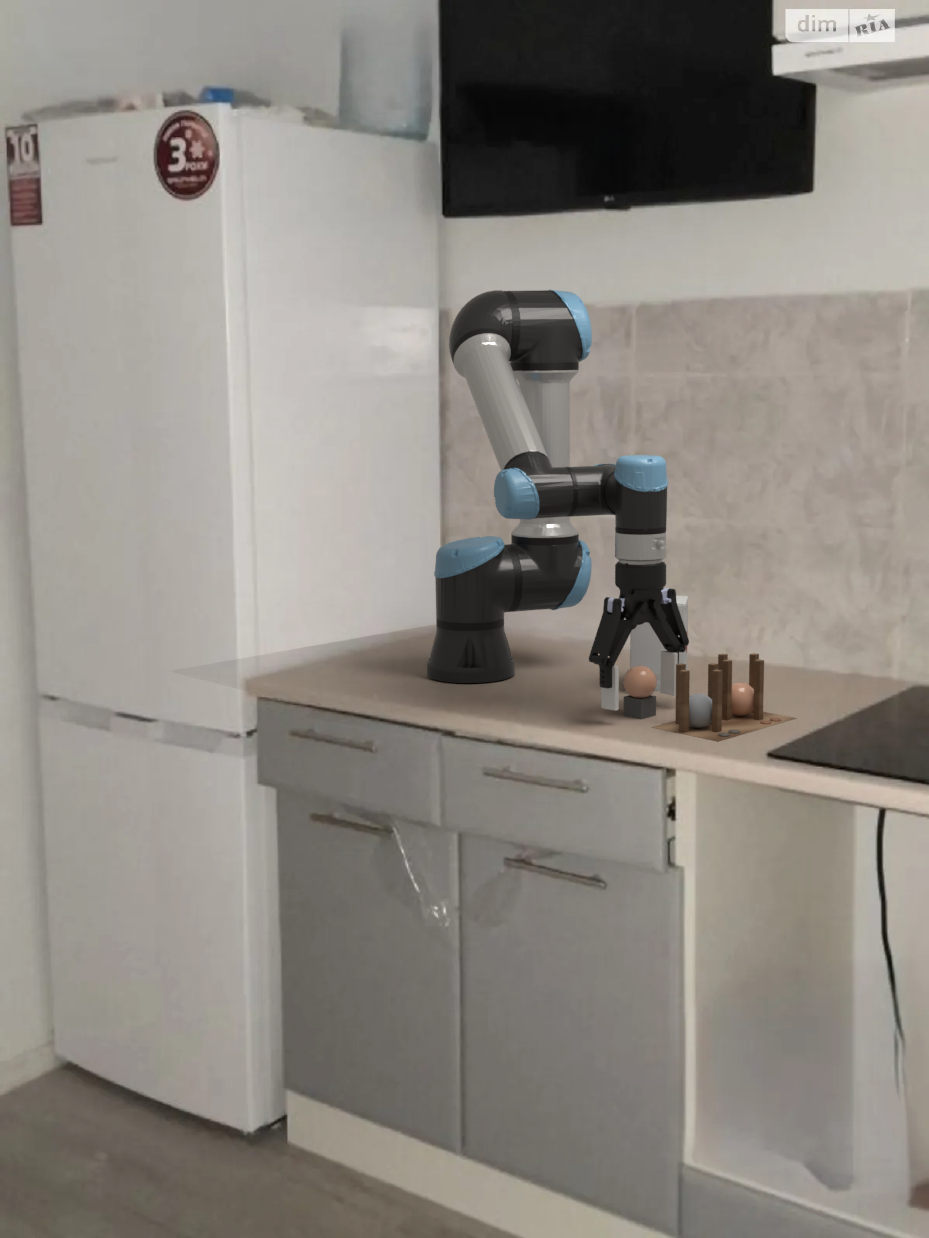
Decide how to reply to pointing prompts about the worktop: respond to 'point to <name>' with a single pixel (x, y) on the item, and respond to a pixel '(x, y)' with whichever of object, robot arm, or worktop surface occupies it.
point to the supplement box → (654, 644)
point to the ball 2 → (742, 699)
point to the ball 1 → (700, 710)
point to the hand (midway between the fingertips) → (639, 701)
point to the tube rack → (722, 702)
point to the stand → (639, 707)
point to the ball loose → (640, 682)
